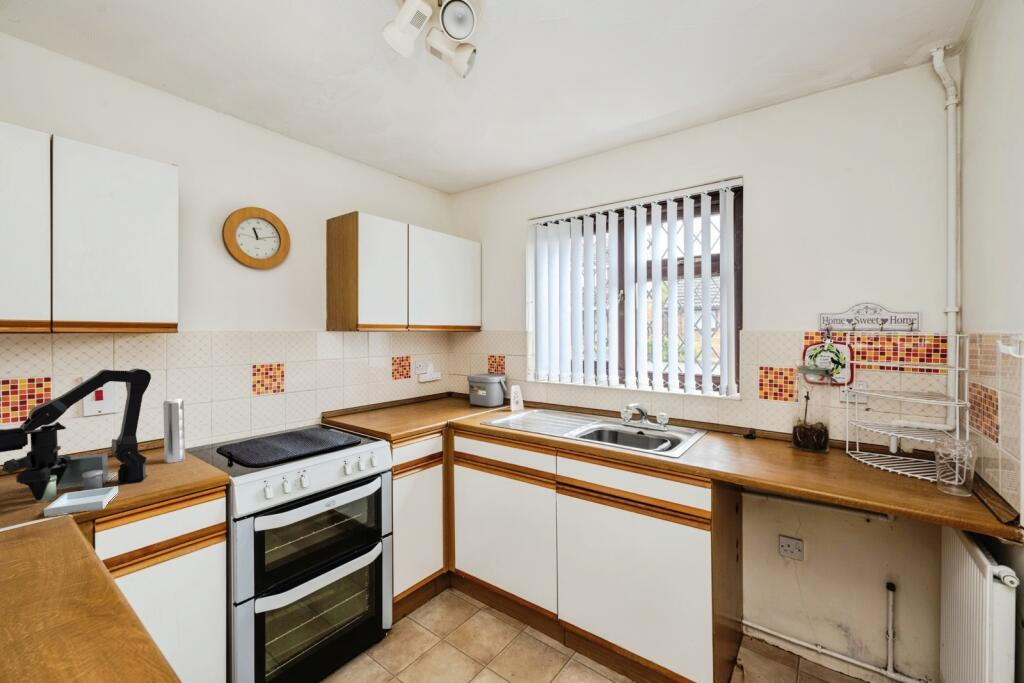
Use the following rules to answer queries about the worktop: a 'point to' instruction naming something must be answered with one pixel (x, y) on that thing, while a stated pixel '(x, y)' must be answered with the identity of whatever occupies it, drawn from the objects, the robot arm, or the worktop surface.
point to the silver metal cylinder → (174, 430)
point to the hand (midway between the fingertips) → (46, 494)
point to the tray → (82, 501)
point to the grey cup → (92, 479)
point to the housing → (85, 469)
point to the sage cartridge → (50, 490)
